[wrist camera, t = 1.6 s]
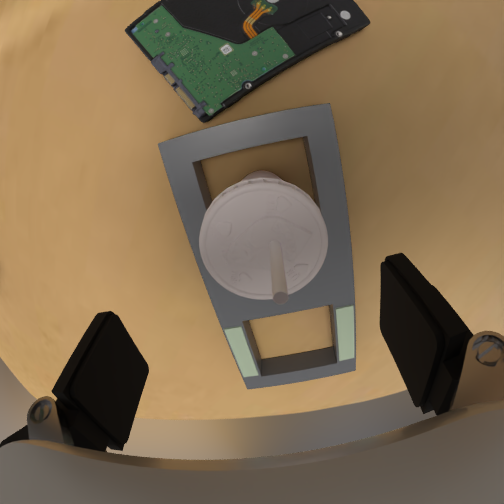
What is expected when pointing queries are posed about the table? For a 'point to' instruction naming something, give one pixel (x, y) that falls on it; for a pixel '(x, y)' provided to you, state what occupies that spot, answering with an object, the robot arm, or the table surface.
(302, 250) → the smoothie
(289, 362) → the dock
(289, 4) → the disk drive
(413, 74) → the table surface
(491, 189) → the table surface
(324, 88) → the table surface
